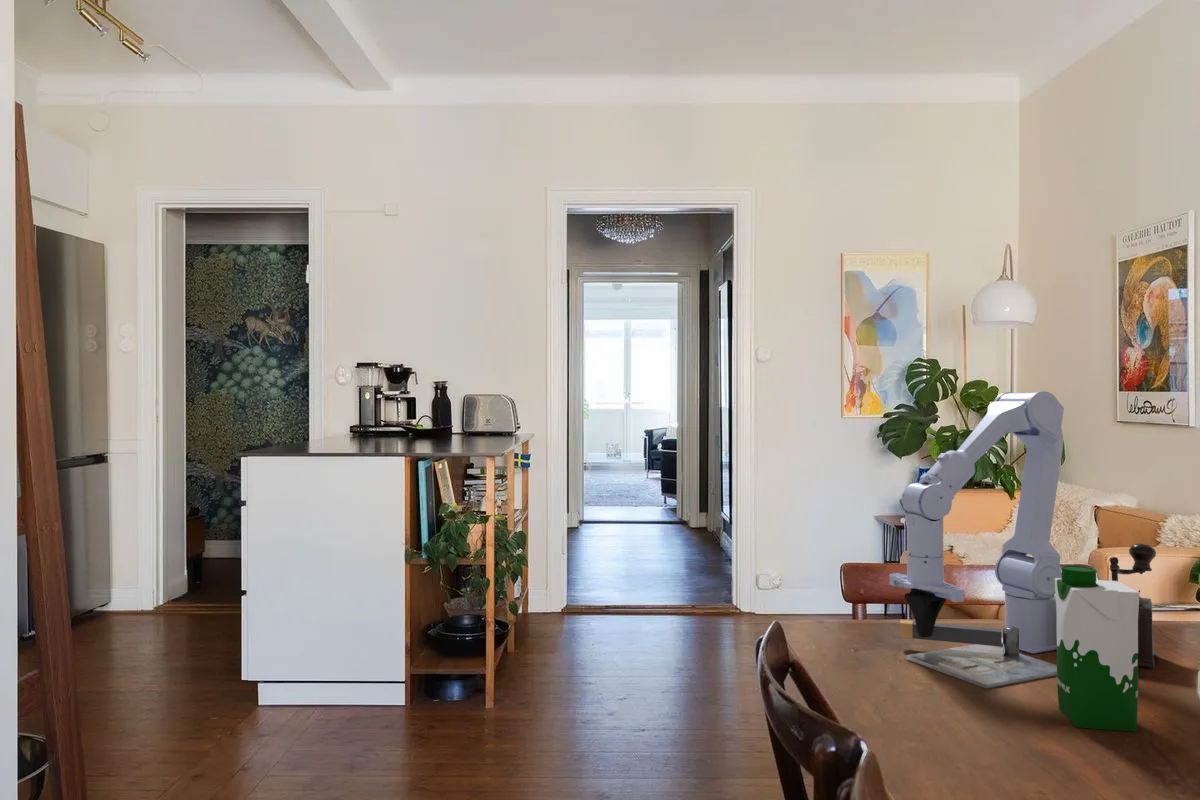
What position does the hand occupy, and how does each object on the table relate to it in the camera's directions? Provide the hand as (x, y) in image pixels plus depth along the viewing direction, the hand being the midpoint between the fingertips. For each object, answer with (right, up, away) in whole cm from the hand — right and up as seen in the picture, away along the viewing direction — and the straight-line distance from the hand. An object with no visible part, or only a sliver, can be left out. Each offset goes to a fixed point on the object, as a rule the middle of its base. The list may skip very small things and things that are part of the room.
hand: (925, 636), depth 141 cm
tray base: (+7, -3, -6) cm, 10 cm away
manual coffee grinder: (+33, -3, +1) cm, 33 cm away
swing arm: (+4, -1, +1) cm, 5 cm away
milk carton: (+11, -3, -30) cm, 32 cm away
